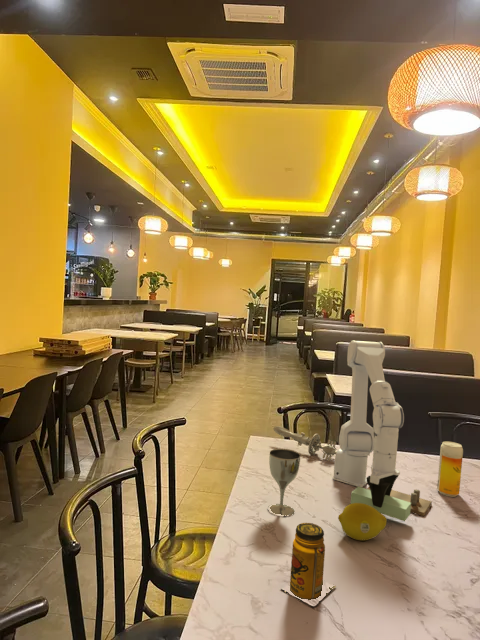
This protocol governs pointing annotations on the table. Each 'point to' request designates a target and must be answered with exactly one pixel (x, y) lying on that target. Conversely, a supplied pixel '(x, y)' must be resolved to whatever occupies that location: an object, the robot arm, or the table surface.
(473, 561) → the table surface
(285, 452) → the wine glass
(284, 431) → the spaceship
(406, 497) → the peg base
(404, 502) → the shelf board
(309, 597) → the condiment
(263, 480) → the table surface
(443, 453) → the beer can
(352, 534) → the lemon
